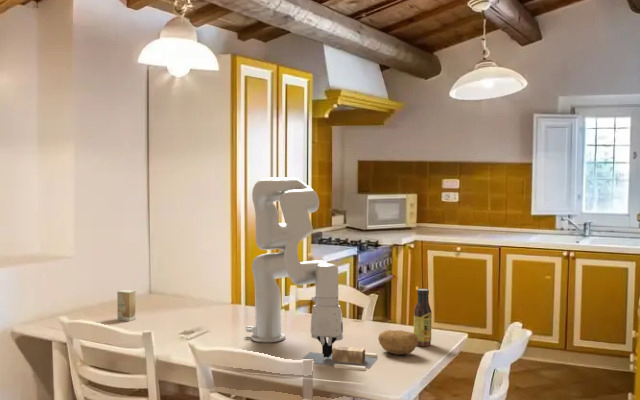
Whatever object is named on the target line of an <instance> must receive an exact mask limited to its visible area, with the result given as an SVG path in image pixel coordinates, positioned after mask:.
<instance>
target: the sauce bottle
mask: <svg viewBox="0 0 640 400" xmlns="http://www.w3.org/2000/svg"><path fill="white" fill-rule="evenodd" d="M416 291H417V302H416V304H415V306H414V310H413V313H414V314H413V333H414V334H416V335H417V336H418V344H417V346H416V347H429V346H431V344H432V343H431V341H432V322H433V321H432V319H433V318H432V310H431V306H430V302H429V292H430V291H429V289H427V288H417V290H416Z"/></svg>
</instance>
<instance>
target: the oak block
mask: <svg viewBox="0 0 640 400" xmlns="http://www.w3.org/2000/svg"><path fill="white" fill-rule="evenodd" d="M365 353H366V348H364V347H351V346H350V347H349V346H341V345H340V346H339V345H338V346H337V345H336V346H334V347H332V361H334V362H346V363H358V364H362V363H363V362H364V361H365V357H366V356H365Z"/></svg>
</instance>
